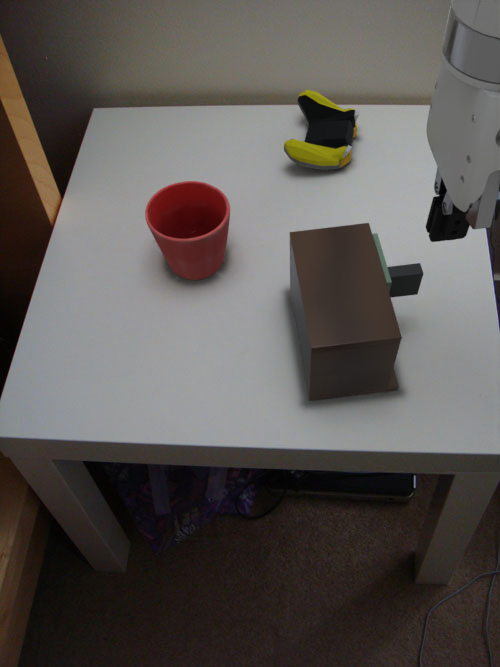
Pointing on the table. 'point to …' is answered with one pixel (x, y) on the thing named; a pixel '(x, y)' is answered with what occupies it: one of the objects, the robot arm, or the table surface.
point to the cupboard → (342, 313)
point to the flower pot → (190, 227)
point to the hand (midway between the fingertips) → (444, 233)
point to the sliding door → (400, 275)
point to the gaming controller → (323, 133)
